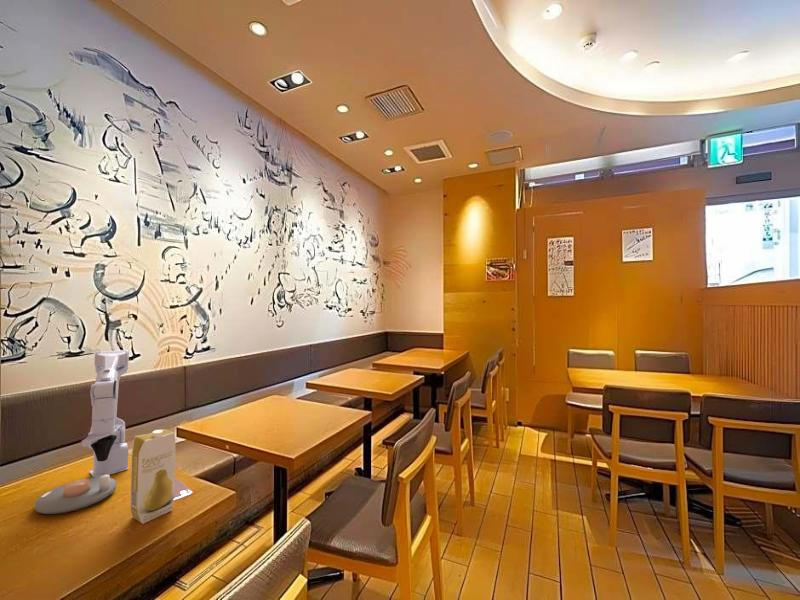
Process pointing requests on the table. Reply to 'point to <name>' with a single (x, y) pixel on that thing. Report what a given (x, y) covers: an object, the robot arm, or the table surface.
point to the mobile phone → (180, 490)
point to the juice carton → (152, 475)
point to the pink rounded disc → (76, 488)
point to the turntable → (59, 504)
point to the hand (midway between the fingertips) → (102, 460)
